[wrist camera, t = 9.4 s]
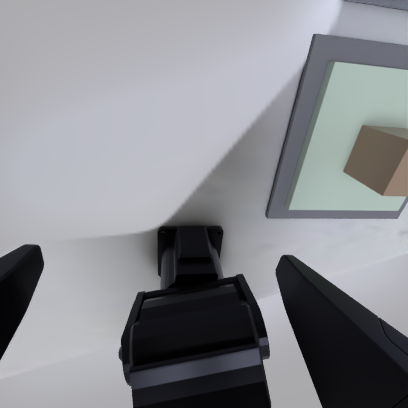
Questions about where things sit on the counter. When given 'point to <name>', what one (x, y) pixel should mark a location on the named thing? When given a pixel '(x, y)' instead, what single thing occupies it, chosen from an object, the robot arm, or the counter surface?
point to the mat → (303, 110)
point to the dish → (386, 3)
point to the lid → (355, 142)
